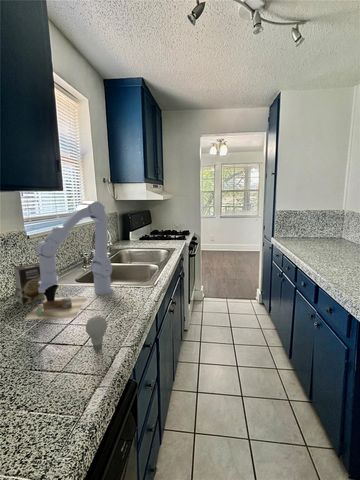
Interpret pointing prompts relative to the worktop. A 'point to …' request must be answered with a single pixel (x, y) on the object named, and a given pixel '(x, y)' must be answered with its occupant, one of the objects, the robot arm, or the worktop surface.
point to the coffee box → (28, 283)
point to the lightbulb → (96, 331)
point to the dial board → (58, 310)
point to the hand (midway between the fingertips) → (50, 303)
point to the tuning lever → (57, 303)
